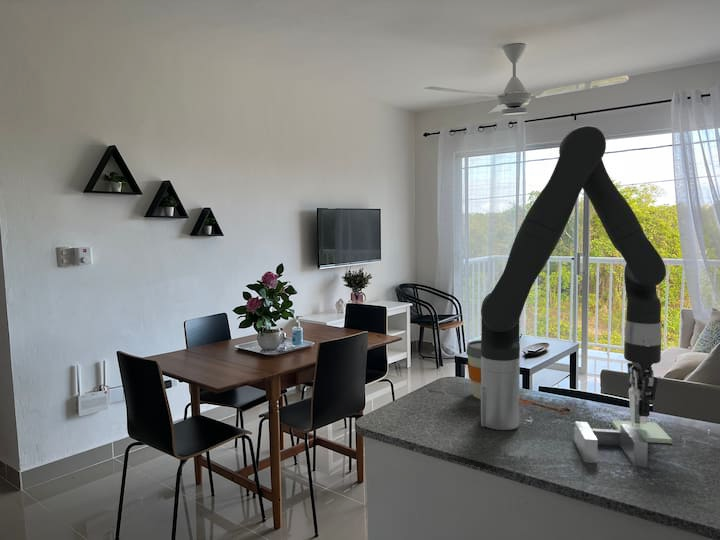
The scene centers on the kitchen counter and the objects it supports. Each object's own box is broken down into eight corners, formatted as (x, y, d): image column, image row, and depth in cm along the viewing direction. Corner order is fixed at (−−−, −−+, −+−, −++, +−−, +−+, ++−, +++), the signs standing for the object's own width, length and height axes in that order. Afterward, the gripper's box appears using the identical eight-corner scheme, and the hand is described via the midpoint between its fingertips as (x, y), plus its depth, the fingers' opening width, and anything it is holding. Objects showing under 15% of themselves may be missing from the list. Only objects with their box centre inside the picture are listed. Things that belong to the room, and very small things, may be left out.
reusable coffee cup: (498, 405, 144) (498, 352, 143) (458, 396, 152) (458, 345, 151) (517, 393, 154) (518, 343, 152) (479, 386, 162) (479, 338, 161)
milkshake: (656, 428, 121) (658, 386, 121) (633, 429, 121) (634, 386, 121) (646, 421, 126) (647, 380, 125) (623, 421, 126) (625, 381, 125)
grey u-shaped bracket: (584, 462, 110) (584, 439, 109) (573, 440, 121) (573, 418, 120) (647, 466, 107) (647, 442, 107) (630, 443, 118) (630, 421, 118)
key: (512, 405, 146) (563, 419, 135) (512, 402, 146) (563, 416, 135) (523, 398, 150) (574, 412, 139) (523, 395, 150) (574, 408, 139)
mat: (623, 440, 120) (623, 436, 120) (611, 424, 130) (611, 420, 130) (671, 443, 118) (671, 439, 118) (655, 426, 128) (655, 422, 128)
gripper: (616, 333, 130) (614, 401, 131) (634, 347, 116) (632, 422, 117) (649, 334, 128) (647, 402, 130) (671, 348, 114) (669, 424, 116)
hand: (640, 411), depth 123 cm, fingers closed on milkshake, 4 cm apart
